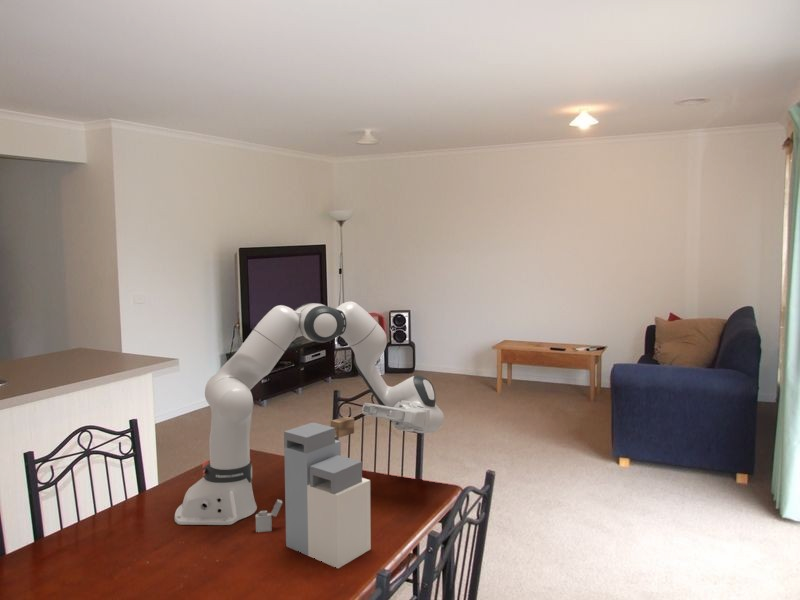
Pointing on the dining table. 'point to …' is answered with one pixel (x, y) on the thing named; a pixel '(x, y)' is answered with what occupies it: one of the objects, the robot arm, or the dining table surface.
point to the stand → (324, 497)
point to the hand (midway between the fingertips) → (376, 411)
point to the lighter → (267, 518)
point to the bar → (343, 426)
